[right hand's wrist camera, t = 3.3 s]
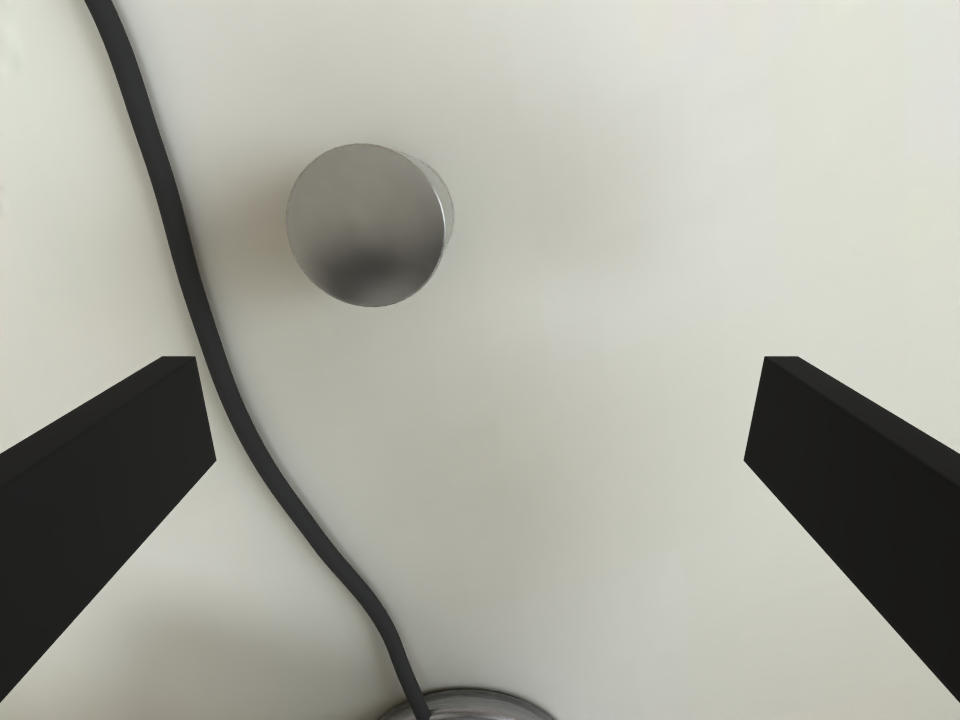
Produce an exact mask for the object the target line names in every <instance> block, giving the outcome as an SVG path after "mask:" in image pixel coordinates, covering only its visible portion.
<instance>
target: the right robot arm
mask: <svg viewBox="0 0 960 720" xmlns="http://www.w3.org/2000/svg"><path fill="white" fill-rule="evenodd" d="M85 2H86V4H87V6H88V8H89V10H90V13H91V15H92V17H93V19H94V21H95V23H96V26H97V28H98V30H99V33H100V35H101V37H102V40H103V42H104V45H105V47H106V50H107V53H108V55H109V58H110V61H111V63H112V66H113V69H114V72H115V75H116V78H117V81H118V84H119V87H120V90H121V93H122V96H123V99H124V102H125V105H126V108H127V111H128V114H129V117H130V120H131V123H132V126H133V129H134V132H135V135H136V138H137V141H138V144H139V146H140V149H141V152H142V155H143V158H144V161H145V164H146V167H147V170H148V173H149V176H150V179H151V182H152V186H153V189H154V192H155V196H156V199H157V203H158V206H159V210H160V213H161V217H162V221H163V224H164V228H165V232H166V236H167V239H168V243H169V247H170V251H171V254H172V258H173V262H174V265H175V269H176V272H177V276H178V279H179V283H180V286H181V289H182V292H183V295H184V298H185V301H186V304H187V307H188V310H189V313H190V316H191V319H192V322H193V325H194V328H195V331H196V334H197V337H198V340H199V343H200V346H201V349H202V351H203V354H204V357H205V360H206V363H207V366H208V369H209V371H210V374H211V377H212V380H213V382H214V385H215V387H216V390H217V392H218V395H219V397H220V400H221V402H222V404H223V407H224V409H225V411H226V413H227V416H228V418H229V420H230V422H231V424H232V426H233V428H234V430H235V432H236V434H237V436H238V438H239V440H240V442H241V444H242V445H243V447H244V449H245V451H246V453H247V454H248V456H249V458H250V460H251V461H252V463H253V465H254V466H255V468H256V470H257V471H258V473H259V474H260V476H261V477H262V479H263V481H264V482H265V483H266V485H267V486H268V488H269V489H270V491H271V492H272V494H273V495H274V496H275V498H276V499H277V501H278V502H279V503H280V505H281V506H282V507H283V509H284V510H285V511H286V513H287V514H288V515H289V517H290V518H291V519H292V521H293V522H294V523H295V525H296V526H297V527H298V529H299V530H300V531H301V533H302V534H303V535H304V537H305V538H306V539H307V541H308V542H309V543H310V545H311V546H312V547H313V549H314V550H315V551H316V553H317V554H318V555H319V556H320V558H321V559H322V560H323V561H324V562H325V564H326V565H327V566H328V567H329V568H330V569H331V571H332V572H333V573H334V574H335V575H336V576H337V577H338V578H339V580H340V581H341V582H342V583H343V584H344V585H345V586H346V587H347V589H348V590H349V591H350V592H351V593H352V594H353V595H354V597H355V598H356V599H357V600H358V602H359V603H360V604H361V605H362V607H363V608H364V609H365V611H366V612H367V613H368V615H369V616H370V618H371V619H372V621H373V622H374V624H375V626H376V627H377V629H378V631H379V633H380V634H381V636H382V638H383V640H384V643H385V645H386V647H387V650H388V652H389V655H390V658H391V661H392V663H393V666H394V669H395V671H396V674H397V676H398V679H399V681H400V683H401V686H402V688H403V690H404V693H405V695H406V697H407V699H408V701H407V702H405V703H403V704H401V705H399V706H397V707H395V708H394V709H392V710H390V711H389V712H388V713H386V714H385V715H383V716H382V717H381V718H380V719H379V720H554V719H552V718H551V717H550V716H549V715H548V714H546V713H545V712H543V711H542V710H540V709H539V708H537V707H535V706H534V705H532V704H530V703H528V702H526V701H523V700H521V699H518V698H515V697H512V696H509V695H506V694H502V693H497V692H491V691H484V690H467V689H464V690H449V691H441V692H436V693H431V694H427V695H424V696H423V695H422V692H421V690H420V688H419V685H418V683H417V681H416V678H415V676H414V674H413V671H412V669H411V666H410V664H409V661H408V659H407V656H406V653H405V650H404V648H403V645H402V642H401V640H400V637H399V635H398V633H397V630H396V628H395V626H394V624H393V622H392V620H391V619H390V617H389V615H388V614H387V612H386V610H385V609H384V607H383V606H382V604H381V603H380V601H379V600H378V598H377V597H376V596H375V594H374V593H373V592H372V590H371V589H370V588H369V587H368V585H367V584H366V583H365V582H364V581H363V579H362V578H361V577H360V576H359V575H358V574H357V572H356V571H355V570H354V569H353V568H352V567H351V566H350V564H349V563H348V562H347V561H346V560H345V559H344V558H343V556H342V555H341V554H340V553H339V552H338V550H337V549H336V548H335V547H334V545H333V544H332V543H331V542H330V540H329V539H328V538H327V536H326V535H325V534H324V532H323V531H322V529H321V528H320V527H319V525H318V524H317V523H316V521H315V520H314V518H313V517H312V516H311V514H310V513H309V512H308V510H307V509H306V508H305V506H304V505H303V504H302V502H301V501H300V499H299V498H298V497H297V495H296V494H295V493H294V491H293V490H292V488H291V487H290V486H289V484H288V483H287V481H286V480H285V478H284V477H283V475H282V474H281V472H280V471H279V469H278V468H277V466H276V464H275V463H274V461H273V459H272V458H271V456H270V454H269V453H268V451H267V449H266V447H265V446H264V444H263V442H262V440H261V438H260V436H259V434H258V433H257V431H256V429H255V427H254V425H253V423H252V421H251V418H250V416H249V414H248V412H247V410H246V408H245V405H244V403H243V401H242V398H241V396H240V394H239V391H238V389H237V386H236V384H235V381H234V378H233V376H232V373H231V370H230V367H229V364H228V361H227V358H226V355H225V352H224V349H223V346H222V343H221V340H220V337H219V334H218V331H217V328H216V325H215V322H214V319H213V316H212V313H211V310H210V307H209V304H208V300H207V297H206V294H205V291H204V288H203V284H202V281H201V277H200V274H199V270H198V267H197V263H196V259H195V255H194V251H193V248H192V244H191V240H190V236H189V232H188V228H187V224H186V220H185V216H184V212H183V208H182V204H181V201H180V197H179V193H178V190H177V186H176V183H175V180H174V176H173V173H172V170H171V167H170V163H169V160H168V157H167V154H166V151H165V148H164V145H163V142H162V139H161V136H160V133H159V130H158V127H157V124H156V121H155V118H154V114H153V111H152V108H151V105H150V102H149V98H148V95H147V92H146V89H145V86H144V83H143V80H142V77H141V73H140V70H139V68H138V65H137V62H136V59H135V56H134V53H133V50H132V48H131V45H130V42H129V40H128V37H127V35H126V32H125V30H124V27H123V25H122V23H121V20H120V18H119V16H118V14H117V11H116V9H115V7H114V5H113V3H112V1H111V0H85ZM215 461H216V456H215V451H214V446H213V441H212V436H211V431H210V426H209V421H208V416H207V412H206V407H205V402H204V397H203V392H202V387H201V382H200V377H199V372H198V367H197V362H196V357H195V356H162V357H160V358H159V359H157V360H155V361H154V362H152V363H150V364H149V365H147V366H145V367H144V368H142V369H140V370H139V371H137V372H135V373H134V374H132V375H130V376H129V377H127V378H125V379H124V380H122V381H121V382H119V383H117V384H116V385H114V386H112V387H111V388H109V389H107V390H106V391H104V392H102V393H101V394H99V395H97V396H96V397H94V398H92V399H91V400H89V401H87V402H86V403H84V404H82V405H81V406H79V407H77V408H76V409H74V410H72V411H71V412H69V413H67V414H66V415H64V416H62V417H61V418H59V419H57V420H56V421H54V422H52V423H51V424H49V425H47V426H46V427H44V428H42V429H41V430H39V431H37V432H36V433H34V434H33V435H31V436H29V437H28V438H26V439H24V440H23V441H21V442H19V443H18V444H16V445H14V446H13V447H11V448H9V449H8V450H6V451H4V452H3V453H1V454H0V702H1V701H2V700H3V699H4V698H5V697H6V696H7V695H8V693H9V692H10V691H11V690H12V689H13V688H14V687H15V686H16V685H17V683H18V682H19V681H20V680H21V679H22V678H23V677H24V676H25V674H26V673H27V672H28V671H29V670H30V669H31V668H32V667H33V665H34V664H35V663H36V662H37V661H38V660H39V659H40V658H41V656H42V655H43V654H44V653H45V652H46V651H47V650H48V649H49V648H50V646H51V645H52V644H53V643H54V642H55V641H56V640H57V639H58V637H59V636H60V635H61V634H62V633H63V632H64V631H65V630H66V628H67V627H68V626H69V625H70V624H71V623H72V622H73V621H74V619H75V618H76V617H77V616H78V615H79V614H80V613H81V612H82V611H83V609H84V608H85V607H86V606H87V605H88V604H89V603H90V602H91V600H92V599H93V598H94V597H95V596H96V595H97V594H98V593H99V591H100V590H101V589H102V588H103V587H104V586H105V585H106V584H107V583H108V581H109V580H110V579H111V578H112V577H113V576H114V575H115V574H116V572H117V571H118V570H119V569H120V568H121V567H122V566H123V565H124V563H125V562H126V561H127V560H128V559H129V558H130V557H131V556H132V554H133V553H134V552H135V551H136V550H137V549H138V548H139V547H140V546H141V544H142V543H143V542H144V541H145V540H146V539H147V538H148V537H149V535H150V534H151V533H152V532H153V531H154V530H155V529H156V528H157V526H158V525H159V524H160V523H161V522H162V521H163V520H164V519H165V518H166V516H167V515H168V514H169V513H170V512H171V511H172V510H173V509H174V507H175V506H176V505H177V504H178V503H179V502H180V501H181V500H182V498H183V497H184V496H185V495H186V494H187V493H188V492H189V491H190V489H191V488H192V487H193V486H194V485H195V484H196V483H197V482H198V481H199V479H200V478H201V477H202V476H203V475H204V474H205V473H206V472H207V470H208V469H209V468H210V467H211V466H212V465H213V464H214V463H215ZM744 461H745V463H746V464H747V465H748V466H749V467H750V468H751V469H752V470H753V472H754V473H755V474H756V475H757V476H758V477H759V478H760V479H761V481H762V482H763V483H764V484H765V485H766V486H767V487H768V488H769V489H770V491H771V492H772V493H773V494H774V495H775V496H776V497H777V498H778V500H779V501H780V502H781V503H782V504H783V505H784V506H785V507H786V509H787V510H788V511H789V512H790V513H791V514H792V515H793V516H794V518H795V519H796V520H797V521H798V522H799V523H800V524H801V525H802V526H803V528H804V529H805V530H806V531H807V532H808V533H809V534H810V535H811V537H812V538H813V539H814V540H815V541H816V542H817V543H818V544H819V546H820V547H821V548H822V549H823V550H824V551H825V552H826V553H827V554H828V556H829V557H830V558H831V559H832V560H833V561H834V562H835V563H836V565H837V566H838V567H839V568H840V569H841V570H842V571H843V572H844V574H845V575H846V576H847V577H848V578H849V579H850V580H851V581H852V583H853V584H854V585H855V586H856V587H857V588H858V589H859V590H860V591H861V593H862V594H863V595H864V596H865V597H866V598H867V599H868V600H869V602H870V603H871V604H872V605H873V606H874V607H875V608H876V609H877V611H878V612H879V613H880V614H881V615H882V616H883V617H884V618H885V619H886V621H887V622H888V623H889V624H890V625H891V626H892V627H893V628H894V630H895V631H896V632H897V633H898V634H899V635H900V636H901V637H902V639H903V640H904V641H905V642H906V643H907V644H908V645H909V646H910V648H911V649H912V650H913V651H914V652H915V653H916V654H917V655H918V656H919V658H920V659H921V660H922V661H923V662H924V663H925V664H926V665H927V667H928V668H929V669H930V670H931V671H932V672H933V673H934V674H935V676H936V677H937V678H938V679H939V680H940V681H941V682H942V683H943V685H944V686H945V687H946V688H947V689H948V690H949V691H950V692H951V693H952V695H953V696H954V697H955V698H956V699H957V700H958V701H959V702H960V454H959V453H957V452H956V451H954V450H952V449H951V448H949V447H947V446H946V445H944V444H942V443H941V442H939V441H937V440H936V439H934V438H932V437H931V436H929V435H927V434H926V433H924V432H923V431H921V430H919V429H918V428H916V427H914V426H913V425H911V424H909V423H908V422H906V421H904V420H903V419H901V418H899V417H898V416H896V415H894V414H893V413H891V412H889V411H888V410H886V409H884V408H883V407H881V406H879V405H878V404H876V403H874V402H873V401H871V400H869V399H868V398H866V397H864V396H863V395H861V394H859V393H858V392H856V391H854V390H853V389H851V388H849V387H848V386H846V385H844V384H843V383H841V382H839V381H838V380H836V379H835V378H833V377H831V376H830V375H828V374H826V373H825V372H823V371H821V370H820V369H818V368H816V367H815V366H813V365H811V364H810V363H808V362H806V361H805V360H803V359H801V358H800V357H798V356H765V357H764V362H763V367H762V372H761V377H760V382H759V387H758V392H757V397H756V402H755V407H754V412H753V416H752V421H751V426H750V431H749V436H748V441H747V446H746V451H745V456H744Z"/></svg>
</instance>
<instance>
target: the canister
mask: <svg viewBox="0 0 960 720" xmlns="http://www.w3.org/2000/svg"><path fill="white" fill-rule="evenodd" d="M453 222H454V211H453V204H452V200H451V196H450V194H449V191H448V189H447V187H446V185H445V184H444V182H443V181H442V179H441V178H440V176H439V175H438V174H437V173H436V172H435V171H434V170H433V169H432V168H431V167H429V166H428V165H427V164H425V163H423V162H422V161H420V160H418V159H416V158H414V157H411V156H408V155H405V154H402V153H399V152H397V151H394V150H391V149H388V148H385V147H381V146H378V145H372V144H350V145H344V146H340V147H337V148H334V149H332V150H329V151H327V152H325V153H324V154H322V155H320V156H319V157H317V158H316V159H315V160H314V161H312V162H311V163H310V164H309V165H308V166H307V167H306V168H305V169H304V171H303V172H302V173H301V174H300V176H299V178H298V179H297V181H296V182H295V185H294V187H293V189H292V191H291V194H290V198H289V201H288V207H287V217H286V224H287V234H288V238H289V242H290V246H291V248H292V251H293V254H294V256H295V258H296V260H297V262H298V264H299V265H300V267H301V268H302V270H303V271H304V273H305V274H306V275H307V276H308V277H309V279H310V280H311V281H312V282H313V283H314V284H315V285H317V286H318V287H319V288H320V289H321V290H323V291H324V292H326V293H327V294H329V295H330V296H332V297H334V298H336V299H338V300H340V301H343V302H345V303H349V304H352V305H356V306H363V307H380V306H387V305H391V304H395V303H397V302H400V301H402V300H405V299H406V298H408V297H410V296H412V295H413V294H415V293H416V292H417V291H419V290H420V289H421V288H422V287H423V286H424V285H425V284H426V283H427V282H428V281H429V279H430V278H431V277H432V275H433V274H434V272H435V271H436V269H437V267H438V265H439V263H440V260H441V258H442V255H443V253H444V251H445V248H446V246H447V243H448V241H449V238H450V236H451V233H452V229H453Z"/></svg>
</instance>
